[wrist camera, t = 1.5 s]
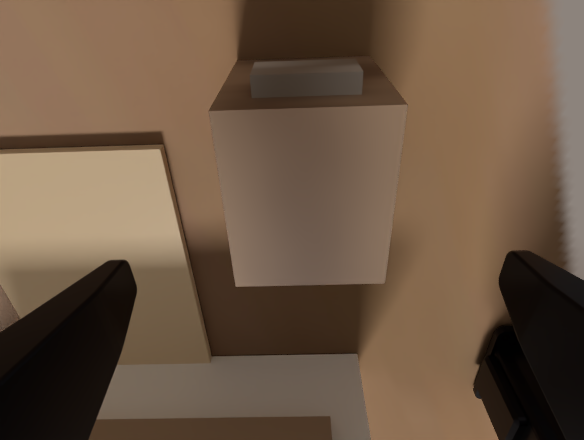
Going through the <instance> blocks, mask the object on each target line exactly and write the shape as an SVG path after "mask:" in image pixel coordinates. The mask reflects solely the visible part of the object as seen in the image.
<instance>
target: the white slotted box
mask: <svg viewBox="0 0 584 440" xmlns="http://www.w3.org/2000/svg"><path fill="white" fill-rule="evenodd" d="M123 259H124V260H127V261H128V262H129V264H130V267H131V270H132V273H133V276H134V279H135V282H136V285H137V295H136V299H135V303H134V307H133V311H132V315H131V319H130V323H129V327H128V331H127V334H126V338H125V342H124V346H123V349H122V352H121V355H120V358H119V361H118V364H117V366H116V369H115V372H114V374H113V377H112V379H111V382H110V385H109V387H108V390H107V393H106V395H105V398H104V400H103V403H102V406H101V408H100V411H99V414H98V416H97V419H96V422H95V424H94V427H93V429H92V432H91V435H90V437H89V440H371V437H370V431H369V425H368V418H367V412H366V406H365V400H364V393H363V387H362V381H361V374H360V368H359V362H358V356H357V354H317V355H261V356H212V355H211V351H210V347H209V342H208V338H207V333H206V329H205V325H204V320H203V316H202V312H201V307H200V303H199V298H198V294H197V290H196V285H195V281H194V276H193V272H192V268H191V263H190V259H189V255H188V250H187V246H186V241H185V237H184V233H183V228H182V224H181V220H180V215H179V211H178V206H177V202H176V198H175V193H174V189H173V184H172V180H171V176H170V171H169V167H168V163H167V158H166V154H165V149H164V145H163V144H162V145H129V146H96V147H63V148H31V149H0V285H1V287H2V288H3V290H4V292H5V293H6V295H7V297H8V298H9V300H10V302H11V303H12V305H13V307H14V308H15V310H16V312H17V313H18V315H19V317H20V318H23V317H24V316H26V315H27V314H29V313H30V312H32V311H33V310H35V309H36V308H38V307H39V306H41V305H42V304H44V303H45V302H47V301H48V300H50V299H51V298H53V297H54V296H56V295H57V294H59V293H60V292H62V291H63V290H65V289H66V288H68V287H69V286H71V285H72V284H74V283H75V282H77V281H78V280H80V279H81V278H83V277H84V276H86V275H87V274H89V273H90V272H92V271H93V270H95V269H96V268H98V267H99V266H101V265H102V264H104V263H105V262H107V261H108V260H123Z"/></svg>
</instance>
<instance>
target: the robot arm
mask: <svg viewBox="0 0 584 440" xmlns="http://www.w3.org/2000/svg"><path fill="white" fill-rule="evenodd" d="M499 287H500V290H501V293H502V296H503V299H504V302H505V304H506V307H507V310H508V313H509V316H510V318H511V321H512V324H513V326H501V327H499V328H497V329H496V330H495V331H494V333H493V336H492V339H491V342H490V344H489V347H488V350H487V353H486V355H485V357H484V359H483V361H482V364H481V367H480V370H479V372H478V375H477V378H476V380H475V385H474V388H473V391H474V394H475V396H476V397H477V398H479V399H482V401H483V404H484V406H485V408H486V411H487V413H488V415H489V418H490V420H491V422H492V425H493V427H494V429H495V432H496V434H497V436H498V439H499V440H584V280H582V279H580V278H578V277H576V276H575V275H573V274H571V273H569V272H567V271H565V270H564V269H562V268H560V267H558V266H556V265H554V264H553V263H551V262H549V261H547V260H545V259H543V258H541V257H540V256H538V255H536V254H534V253H532V252H530V251H527V250H516V251H510V252H508V254H507V255H506V258H505V261H504V264H503V267H502V270H501V273H500V276H499ZM136 295H137V285H136V282H135V279H134V276H133V273H132V270H131V267H130V264H129V262H128V261H127V260H124V259H123V260H108V261H107V262H105V263H104V264H102V265H101V266H99V267H98V268H96V269H95V270H93V271H92V272H90V273H89V274H87V275H86V276H84V277H83V278H81V279H80V280H78V281H77V282H75V283H74V284H72V285H71V286H69V287H68V288H66V289H65V290H63V291H62V292H60V293H59V294H57V295H56V296H54V297H53V298H51V299H50V300H48V301H47V302H45V303H44V304H42V305H41V306H39V307H38V308H36V309H35V310H33V311H32V312H30V313H29V314H27V315H26V316H24V317H23V318H21V319H20V320H18V321H17V322H15V323H14V324H12V325H11V326H9V327H8V328H6V329H5V330H3V331H2V332H0V440H89V437H90V435H91V432H92V429H93V427H94V424H95V422H96V419H97V416H98V414H99V411H100V408H101V406H102V403H103V400H104V398H105V395H106V393H107V390H108V387H109V385H110V382H111V379H112V377H113V374H114V372H115V369H116V366H117V364H118V361H119V358H120V355H121V352H122V349H123V346H124V342H125V338H126V334H127V331H128V327H129V323H130V319H131V315H132V311H133V307H134V303H135V299H136Z"/></svg>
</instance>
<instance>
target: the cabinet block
mask: <svg viewBox="0 0 584 440" xmlns="http://www.w3.org/2000/svg"><path fill="white" fill-rule="evenodd" d="M407 108H408V104H407V103H406V102H405V100H404V99H403V98H402V96H401V95H400V94H399V93H398V91H397V90H396V89H395V87H394V86H393V85H392V84H391V82H390V81H389V80H388V78H387V77H386V76H385V75H384V73H383V72H382V71H381V69H380V68H379V67H378V66H377V64H376V63H375V62H374V60H373V59H372V58H371V57H370V56H348V57H320V58H291V59H263V60H237V61H236V63H235V65H234V67H233V69H232V70H231V72H230V74H229V76H228V77H227V79H226V81H225V83H224V85H223V86H222V88H221V90H220V92H219V93H218V95H217V97H216V99H215V101H214V102H213V104H212V106H211V108H210V109H209V117H210V123H211V130H212V136H213V143H214V150H215V156H216V163H217V169H218V176H219V182H220V189H221V195H222V202H223V208H224V215H225V221H226V228H227V234H228V241H229V247H230V254H231V260H232V267H233V273H234V280H235V286H236V287H248V286H294V285H339V284H385V278H386V271H387V263H388V255H389V247H390V240H391V232H392V224H393V216H394V209H395V201H396V193H397V185H398V178H399V170H400V162H401V154H402V147H403V139H404V131H405V123H406V116H407Z"/></svg>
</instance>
